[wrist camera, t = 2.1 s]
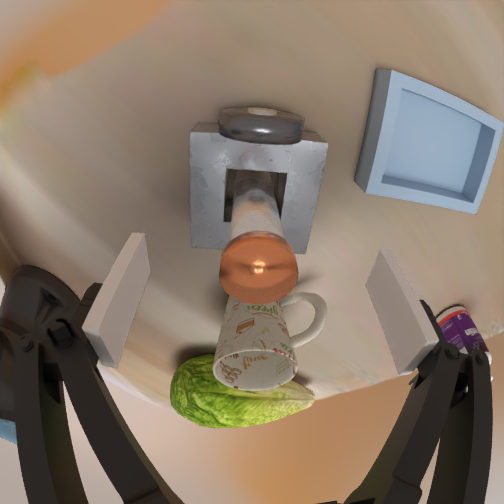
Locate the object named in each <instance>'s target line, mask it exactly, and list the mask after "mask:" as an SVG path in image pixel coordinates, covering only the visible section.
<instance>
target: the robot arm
mask: <svg viewBox="0 0 504 504" xmlns="http://www.w3.org/2000/svg"><path fill="white" fill-rule="evenodd" d="M150 274H151V270H150V264H149V258H148V252H147V246H146V239H145V233H131V235H130V237H129V238H128V240H127V242H126V243H125V245H124V247H123V248H122V250H121V252H120V254H119V255H118V257H117V259H116V261H115V263H114V264H113V266H112V268H111V270H110V272H109V274H108V275H107V277H106V279H105V281H104V283H103V284H100V283H94V284H93V285H91V286H90V287H89V288H88V289H87V291H86V292H85V294H84V296H83V299H82V300H81V302H80V301H79V300H78V298H77V297H76V296H75V295H74V293H73V292H72V291H71V290H70V289H69V288H68V287H67V286H66V285H65V284H63V283H62V282H61V281H60V280H58V279H57V278H56V277H54V276H53V275H51V274H49V273H48V272H46V271H44V270H42V269H39V268H36V267H32V266H21V267H19V268H17V269H16V270H15V271H14V272H13V274H12V275H11V276H10V278H9V279H8V281H7V283H6V287H5V293H4V296H3V299H2V302H1V306H0V437H1V438H3V439H6V440H8V441H10V442H13V443H15V444H17V446H18V454H19V460H20V466H21V472H22V477H23V482H24V486H25V490H26V495H27V498H28V502H29V504H88V500H87V498H86V495H85V491H84V488H83V485H82V482H81V478H80V475H79V471H78V467H77V463H76V459H75V455H74V451H73V446H72V441H71V436H70V431H69V426H68V420H67V413H66V406H65V399H64V390H63V381H64V384H65V386H66V389H67V392H68V394H69V397H70V400H71V402H72V405H73V407H74V410H75V412H76V414H77V416H78V419H79V421H80V424H81V425H82V428H83V430H84V432H85V434H86V436H87V438H88V441H89V443H90V445H91V447H92V449H93V451H94V452H95V454H96V456H97V458H98V460H99V462H100V464H101V465H102V467H103V469H104V471H105V472H106V474H107V476H108V477H109V479H110V481H111V482H112V484H113V485H114V487H115V489H116V490H117V492H118V493H119V495H120V496H121V498H122V500H123V502H124V504H184V503H183V502H182V500H181V499H180V498H179V497H178V496H177V495H176V494H175V493H174V492H173V491H172V490H171V488H170V487H169V486H168V485H167V483H166V482H165V481H164V479H163V478H162V477H161V476H160V474H159V473H158V471H157V470H156V469H155V467H154V466H153V464H152V463H151V461H150V460H149V459H148V457H147V456H146V454H145V453H144V451H143V450H142V448H141V446H140V445H139V443H138V442H137V440H136V439H135V437H134V435H133V434H132V432H131V431H130V429H129V427H128V425H127V424H126V422H125V420H124V418H123V417H122V415H121V413H120V412H119V409H118V408H117V406H116V404H115V402H114V400H113V398H112V396H111V394H110V393H109V390H108V388H107V386H106V384H105V382H104V380H103V378H102V376H101V374H100V372H99V370H98V368H97V366H96V365H97V362H98V359H99V360H100V362H101V363H102V365H104V366H108V367H113V368H118V365H119V362H120V358H121V355H122V352H123V349H124V346H125V343H126V340H127V337H128V334H129V331H130V328H131V325H132V322H133V319H134V316H135V314H136V311H137V308H138V305H139V303H140V300H141V297H142V294H143V292H144V289H145V287H146V284H147V281H148V279H149V276H150ZM365 286H366V288H367V290H368V293H369V295H370V298H371V300H372V303H373V305H374V308H375V310H376V313H377V315H378V318H379V320H380V323H381V326H382V328H383V331H384V334H385V336H386V339H387V342H388V345H389V347H390V350H391V353H392V356H393V359H394V362H395V365H396V368H397V371H398V374H399V376H400V375H407V374H411V373H412V372H413V371H414V370H415V369H416V368H418V371H419V373H418V374H417V375H416V376H415V377H414V378H413V379H412V380H411V381H410V383H409V385H411V384H412V383H413V385H412V388H411V390H410V392H409V395H408V397H407V399H406V402H405V404H404V406H403V408H402V411H401V413H400V415H399V417H398V419H397V421H396V424H395V425H394V427H393V429H392V431H391V433H390V435H389V437H388V439H387V441H386V443H385V445H384V447H383V448H382V450H381V452H380V454H379V456H378V458H377V459H376V461H375V462H374V464H373V466H372V468H371V469H370V471H369V472H368V474H367V476H366V478H365V479H364V480H363V482H362V483H361V485H360V486H359V487H358V488H357V489H356V490H354V491H353V492H352V493H351V494H350V495H349V497H348V498H347V499H346V501H345V502H344V503H343V504H418V503H419V500H420V498H421V496H422V490H421V488H420V484H421V481H422V479H423V477H424V475H425V473H426V470H427V468H428V466H429V464H430V461H431V459H432V456H433V454H434V451H435V449H436V446H437V444H438V441H439V438H440V443H439V449H438V455H437V461H436V466H435V471H434V476H433V480H432V485H431V489H430V493H429V496H428V500H427V504H484V501H485V496H486V489H487V484H488V477H489V469H490V461H491V448H492V426H493V425H492V424H493V423H492V422H493V410H492V388H491V387H492V386H491V374H490V364H489V359H488V356H487V355H486V353H485V352H484V351H483V350H481V349H474V350H473V351H472V353H471V354H465V353H460V350H459V349H458V347H457V346H455V345H454V344H452V343H448V342H447V340H446V338H445V336H444V334H443V332H442V330H441V328H440V326H439V324H438V322H436V318H435V316H433V312H432V311H431V309H430V307H429V306H428V305H427V304H426V302H425V301H424V300H419V299H418V297H417V295H416V293H415V291H414V289H413V288H412V286H411V284H410V282H409V281H408V279H407V277H406V275H405V273H404V272H403V270H402V268H401V267H400V265H399V263H398V262H397V260H396V258H395V257H394V255H393V253H392V252H391V251H390V250H380V251H379V253H378V256H377V259H376V261H375V264H374V266H373V268H372V271H371V273H370V276H369V278H368V280H367V283H366V285H365ZM467 387H468V391H467ZM440 435H441V436H440ZM318 504H340V503H337V501H331V502H325V503H318Z"/></svg>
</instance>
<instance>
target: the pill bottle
mask: <svg viewBox="0 0 504 504" xmlns="http://www.w3.org/2000/svg"><path fill="white" fill-rule="evenodd" d="M436 322H438V324H439V326H440V328H441V330H442V332H443V334H444V336H445V338H446V340H447V342H448V343H452V344H454V345H455V346H457V347H458V349H459V350H460V353H465V354H471V353H472V351H473V350H474V349H481V350H483V351H484V352H485V353H486V355H487V356H488V359H489V364H491V359H492V357H491V354H490V352H489V350H488V348H487V346H486V344H485V342H484V340H483V339H482V337H481V335H480V333H479V331H478V329H477V328H476V326H475V324H474V322H473V321H472V319H471V317H470V315H469V314H468V312H467V310H466V309H465V308H464V307H460V306H457V307H452V308H450V309H447V310H446V311H444V312H443V313H442V314H441V315H439V316H438V317H437V318H436ZM490 374H491V372H490ZM492 379H493V377H492V374H491V381H492ZM467 391H468V387H467Z"/></svg>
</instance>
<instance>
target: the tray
mask: <svg viewBox="0 0 504 504" xmlns="http://www.w3.org/2000/svg"><path fill="white" fill-rule="evenodd" d="M503 126H504V123H502V122H500V121H499V120H497V119H496V118H494V117H492V116H491V115H489V114H487V113H486V112H484V111H482V110H480V109H479V108H477V107H475V106H473V105H471V104H469V103H467V102H466V101H464V100H462V99H460V98H458V97H456V96H454V95H452V94H450V93H447V92H445V91H443V90H441V89H439V88H436V87H434V86H432V85H430V84H427V83H425V82H422V81H420V80H417V79H415V78H412V77H410V76H407V75H404V74H402V73H399V72H396V71H393V70H386V69H376V72H375V78H374V85H373V91H372V97H371V103H370V108H369V114H368V119H367V124H366V129H365V134H364V139H363V144H362V149H361V153H360V158H359V162H358V167H357V171H356V175H355V179H354V181H355V182H356V183H357V184H358V185H359V186H360V188H361V189H362V190H363V191H364V192H365V194H372V195H378V196H385V197H391V198H397V199H403V200H408V201H414V202H419V203H425V204H430V205H435V206H440V207H445V208H449V209H454V210H459V211H463V212H467V213H472V214H476V213H477V210H478V208H479V205H480V202H481V200H482V197H483V194H484V192H485V189H486V186H487V183H488V180H489V177H490V174H491V171H492V168H493V165H494V161H495V158H496V154H497V151H498V147H499V143H500V139H501V135H502V131H503Z"/></svg>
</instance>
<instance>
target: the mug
mask: <svg viewBox="0 0 504 504" xmlns="http://www.w3.org/2000/svg"><path fill="white" fill-rule="evenodd" d="M300 300H303V301H307V302H309V303H311V304H312V305H313V306H314V308H315V311H316V313H315V318H314V320H313V322H312V324H311V326H310V327H309V328H308V329H307V330H306V331H304V332H302V333H300V334H297V335H295V336H292V337H290V336H289V333H288V330H287V326H286V323H285V320H284V316H283V313H282V310H281V308H282V307H285V306H288V305H290V304H292V303H294V302H297V301H300ZM326 318H327V306H326V303H325V301H324V299H323V298H322V297H320V296H319V295H317V294H315V293H306V292H301V293H296V294H294V295H292V296H290V297H288V298H287V299H285V300H283V301H282V302H280V303H279V300H277V301H275V302H271V303H267V304H248V303H244V302H241V301H238V300H236V299H234V298H233V297H231V296H229V298H228V301H227V306H226V310H225V314H224V318H223V323H222V327H221V331H220V335H219V340H218V344H217V348H216V353H215V357H214V362H213V374H214V376H215V377H216V379H217V380H219V381H220V382H221V383H223V384H224V385H227V386H229V387H232V388H235V389H240V390H249V391H257V390H267V389H271V388H275V387H278V386H281V385H283V384H285V383H287V382H288V381H290V380H291V379H292V378H293V377H294V376H295V374H296V373H297V368H298V366H297V360H296V356H295V353H294V350H293V348H295V347H298V346H300V345H303V344H305V343H307V342H309V341H311V340H312V339H314V338H315V337H316V336H317V335H318V334H319V333H320V331H321V330H322V328H323V326H324V324H325V321H326Z"/></svg>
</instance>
